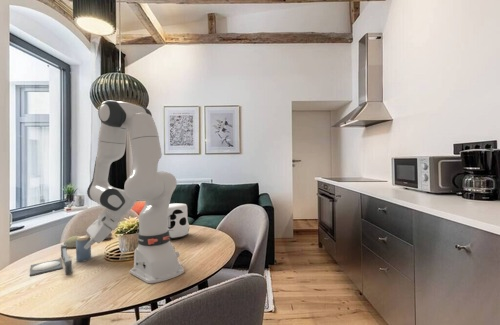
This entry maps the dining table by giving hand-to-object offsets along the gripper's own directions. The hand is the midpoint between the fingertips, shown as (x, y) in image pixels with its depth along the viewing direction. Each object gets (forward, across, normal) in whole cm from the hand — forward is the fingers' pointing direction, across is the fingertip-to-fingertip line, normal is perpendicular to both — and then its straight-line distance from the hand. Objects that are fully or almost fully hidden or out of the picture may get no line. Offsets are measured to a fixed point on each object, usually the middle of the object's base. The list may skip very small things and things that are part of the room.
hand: (83, 245), depth 112 cm
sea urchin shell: (+5, -26, +4) cm, 27 cm away
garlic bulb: (-4, -28, +14) cm, 31 cm away
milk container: (-27, -4, +36) cm, 45 cm away
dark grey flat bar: (+9, +1, 0) cm, 9 cm away
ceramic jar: (+4, 0, +4) cm, 6 cm away
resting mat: (+14, 0, -5) cm, 14 cm away
